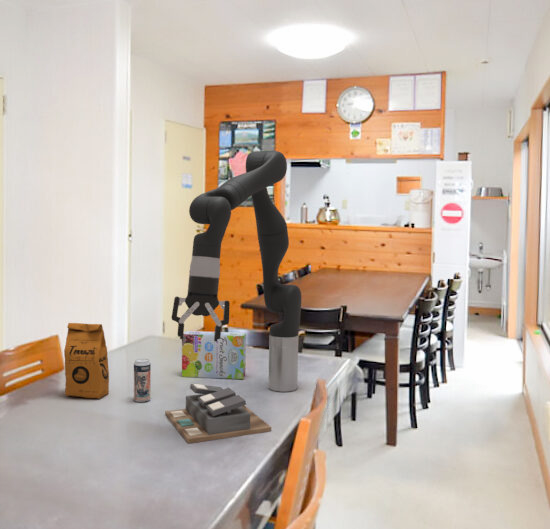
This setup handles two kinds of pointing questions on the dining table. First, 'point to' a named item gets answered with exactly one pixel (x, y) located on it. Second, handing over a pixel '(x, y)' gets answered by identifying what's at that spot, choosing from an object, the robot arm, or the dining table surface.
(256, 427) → the switch panel
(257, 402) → the dining table surface
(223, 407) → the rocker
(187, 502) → the dining table surface
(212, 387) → the rocker
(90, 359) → the coffee package
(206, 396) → the block
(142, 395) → the beer can
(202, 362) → the snack box
